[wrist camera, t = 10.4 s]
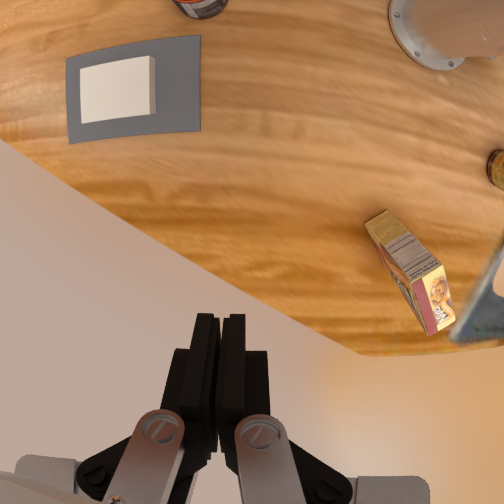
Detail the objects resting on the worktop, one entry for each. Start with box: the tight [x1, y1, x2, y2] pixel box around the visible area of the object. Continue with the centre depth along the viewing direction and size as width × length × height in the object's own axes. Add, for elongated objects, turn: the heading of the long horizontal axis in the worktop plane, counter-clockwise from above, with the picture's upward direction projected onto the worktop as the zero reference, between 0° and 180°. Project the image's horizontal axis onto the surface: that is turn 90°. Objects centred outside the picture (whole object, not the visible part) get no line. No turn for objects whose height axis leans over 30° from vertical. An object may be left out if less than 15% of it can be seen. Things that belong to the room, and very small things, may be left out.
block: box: [80, 56, 156, 124], centre depth 30 cm, size 2×7×9 cm
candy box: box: [364, 210, 456, 336], centre depth 34 cm, size 9×4×15 cm, turn 34°
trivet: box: [66, 35, 201, 144], centre depth 32 cm, size 18×12×1 cm, turn 89°
